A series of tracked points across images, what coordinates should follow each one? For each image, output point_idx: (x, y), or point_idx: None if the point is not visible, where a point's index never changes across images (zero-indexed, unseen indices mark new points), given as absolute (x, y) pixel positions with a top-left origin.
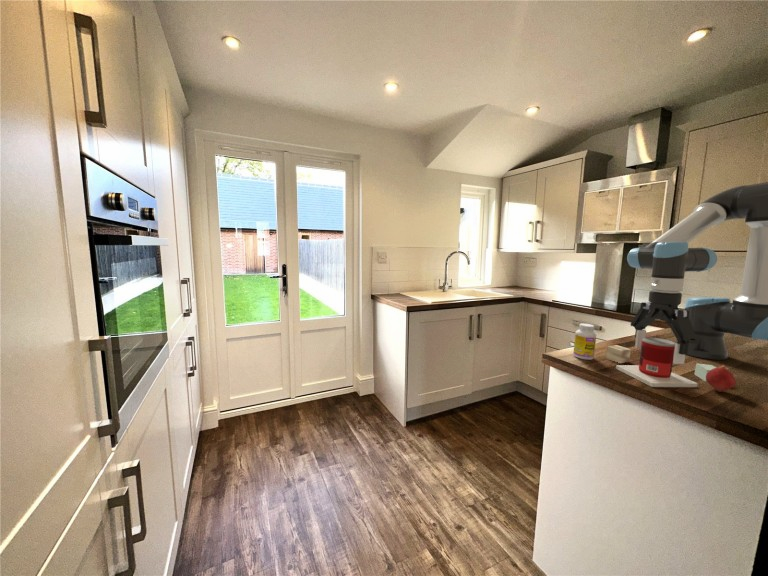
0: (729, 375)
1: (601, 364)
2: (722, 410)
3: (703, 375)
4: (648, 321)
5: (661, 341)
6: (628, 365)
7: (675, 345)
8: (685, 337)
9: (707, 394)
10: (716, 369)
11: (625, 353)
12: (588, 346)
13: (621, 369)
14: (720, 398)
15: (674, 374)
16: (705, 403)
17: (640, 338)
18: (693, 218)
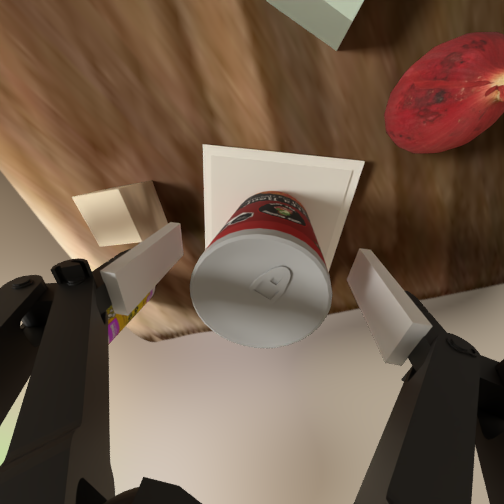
0: None
1: (183, 278)
2: (468, 254)
3: (324, 28)
4: (101, 391)
5: (257, 282)
6: (206, 242)
7: (379, 345)
8: (490, 437)
9: (404, 187)
10: (461, 121)
11: (140, 212)
12: (131, 315)
13: None
14: (438, 176)
15: (289, 167)
16: (428, 254)
17: (155, 270)
18: None
